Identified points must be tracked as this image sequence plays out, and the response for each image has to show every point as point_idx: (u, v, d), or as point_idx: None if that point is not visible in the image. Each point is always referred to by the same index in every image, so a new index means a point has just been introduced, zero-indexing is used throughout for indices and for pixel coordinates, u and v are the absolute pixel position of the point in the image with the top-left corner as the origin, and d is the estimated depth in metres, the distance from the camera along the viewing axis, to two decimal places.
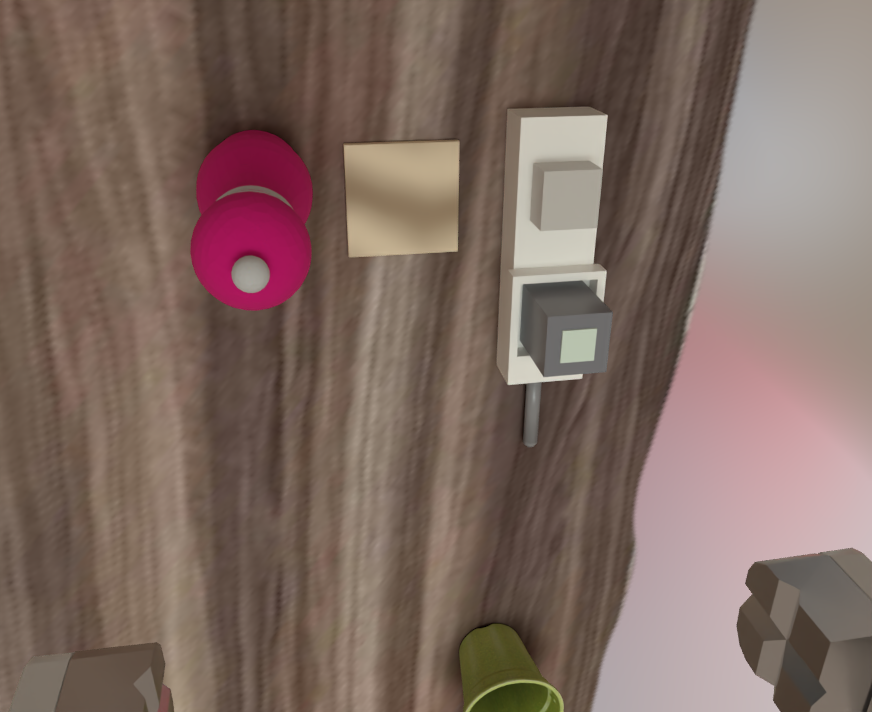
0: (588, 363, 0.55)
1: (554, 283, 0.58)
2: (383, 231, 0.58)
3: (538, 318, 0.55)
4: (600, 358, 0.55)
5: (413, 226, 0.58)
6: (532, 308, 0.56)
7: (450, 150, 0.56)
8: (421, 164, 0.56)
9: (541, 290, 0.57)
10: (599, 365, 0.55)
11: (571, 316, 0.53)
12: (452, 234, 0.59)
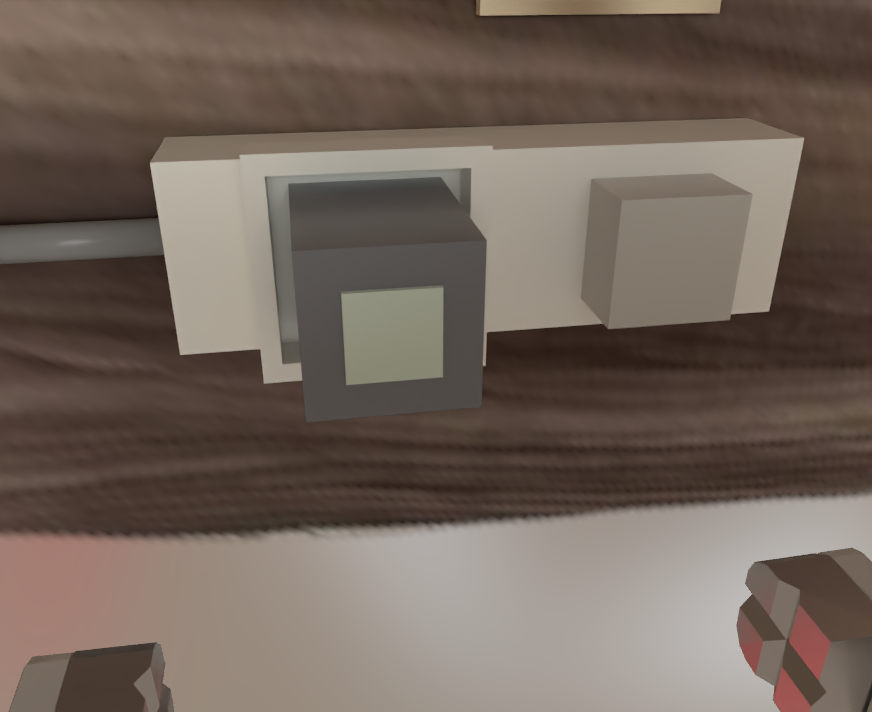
0: (334, 372, 0.20)
1: None
2: None
3: (432, 217, 0.20)
4: (348, 400, 0.20)
5: None
6: (426, 201, 0.22)
7: None
8: None
9: None
10: (326, 402, 0.20)
11: (480, 303, 0.19)
12: (521, 1, 0.25)
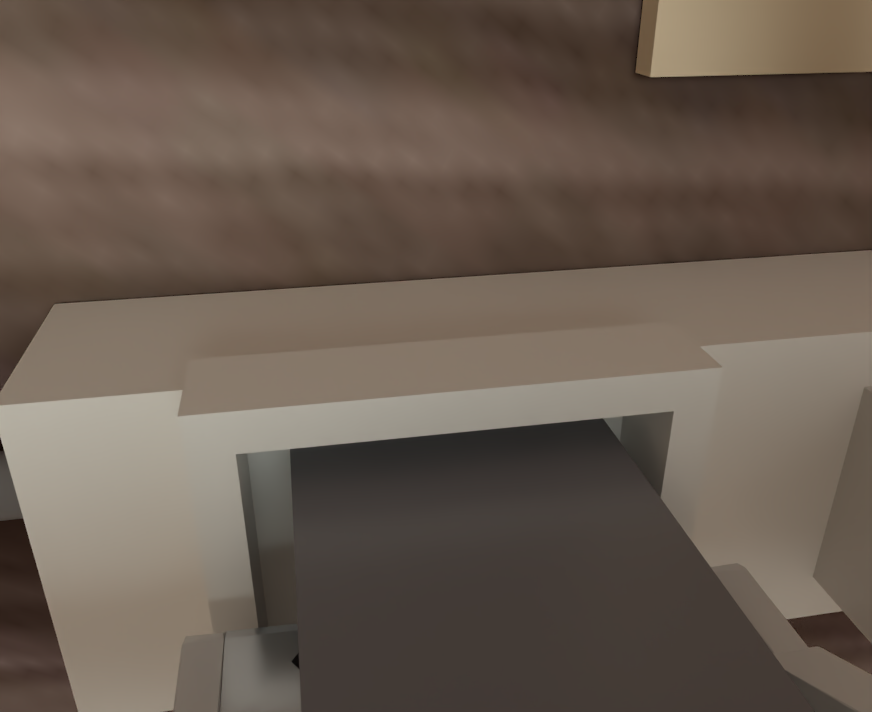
0: None
1: None
2: None
3: (638, 592, 0.08)
4: None
5: None
6: (595, 506, 0.10)
7: None
8: None
9: None
10: None
11: None
12: (728, 49, 0.13)
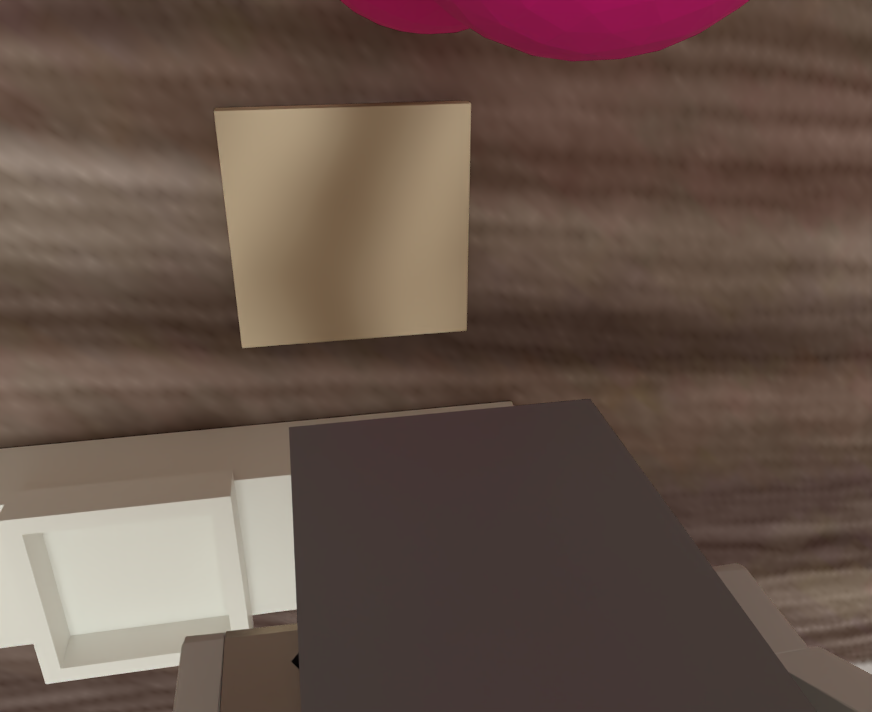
0: None
1: None
2: (282, 191, 0.26)
3: (639, 592, 0.08)
4: None
5: (294, 255, 0.27)
6: (596, 505, 0.10)
7: (450, 316, 0.29)
8: (425, 263, 0.28)
9: None
10: None
11: None
12: (279, 334, 0.28)
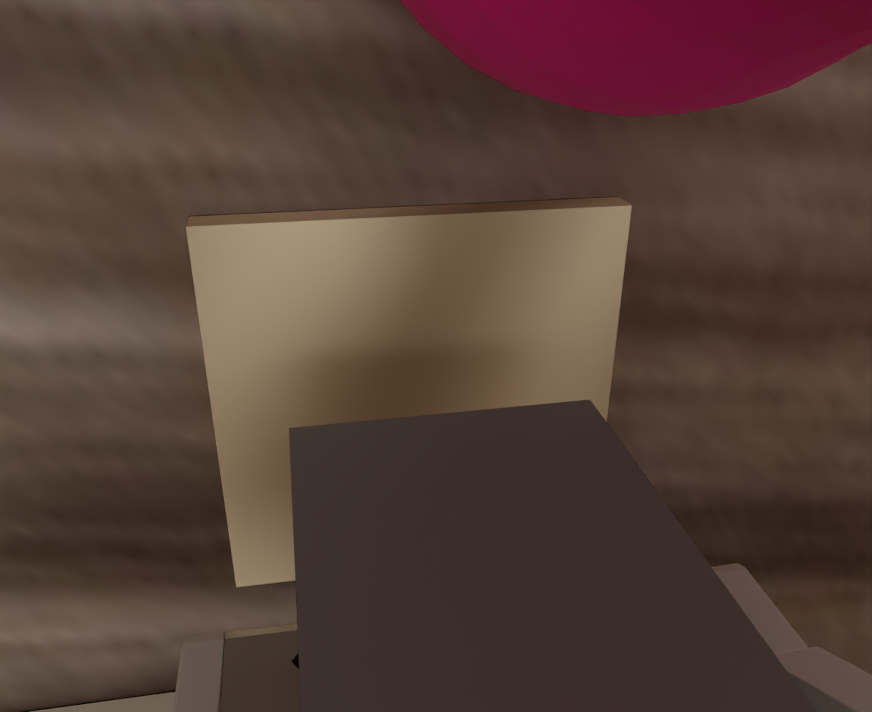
0: None
1: None
2: (305, 353, 0.15)
3: (639, 593, 0.08)
4: None
5: None
6: (595, 506, 0.10)
7: None
8: None
9: None
10: None
11: None
12: None
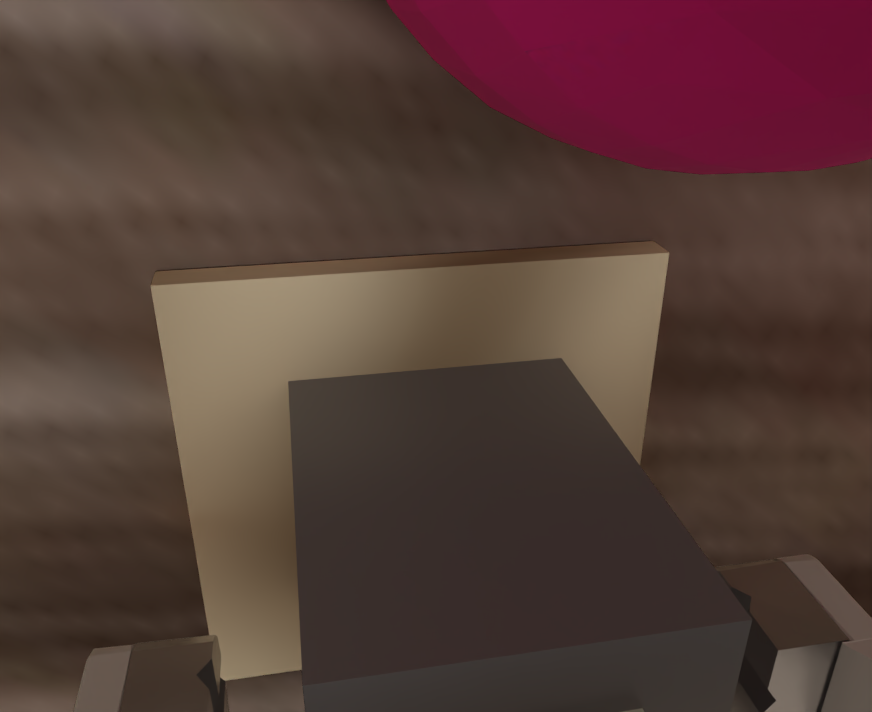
0: None
1: None
2: None
3: (593, 511, 0.10)
4: None
5: None
6: (561, 444, 0.11)
7: None
8: None
9: None
10: None
11: None
12: (286, 656, 0.15)
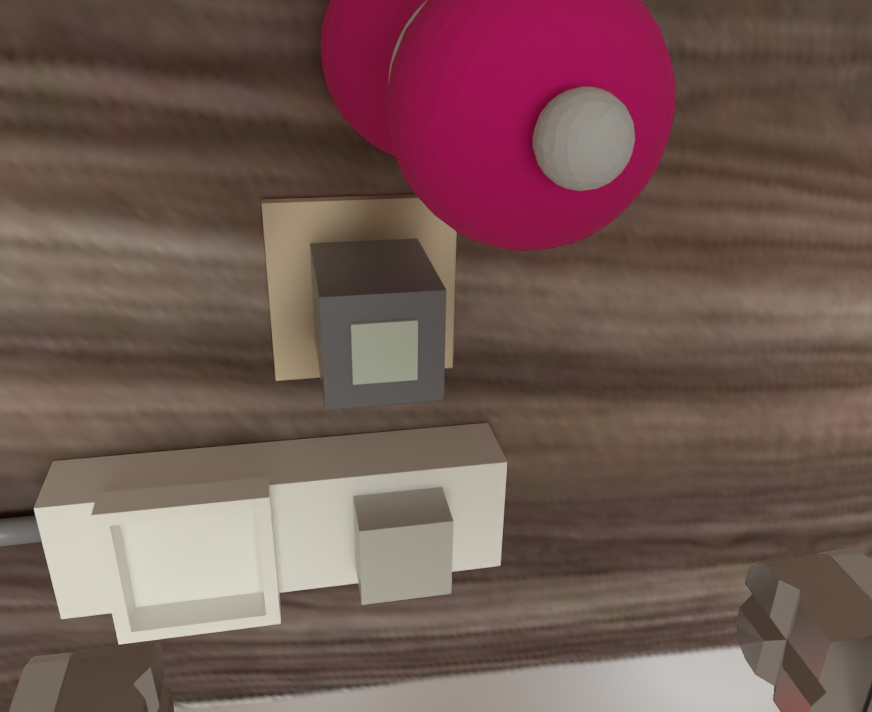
0: (344, 376, 0.29)
1: None
2: None
3: (411, 272, 0.30)
4: (354, 395, 0.30)
5: None
6: (407, 259, 0.32)
7: None
8: None
9: None
10: (339, 396, 0.30)
11: (443, 331, 0.29)
12: (305, 370, 0.36)
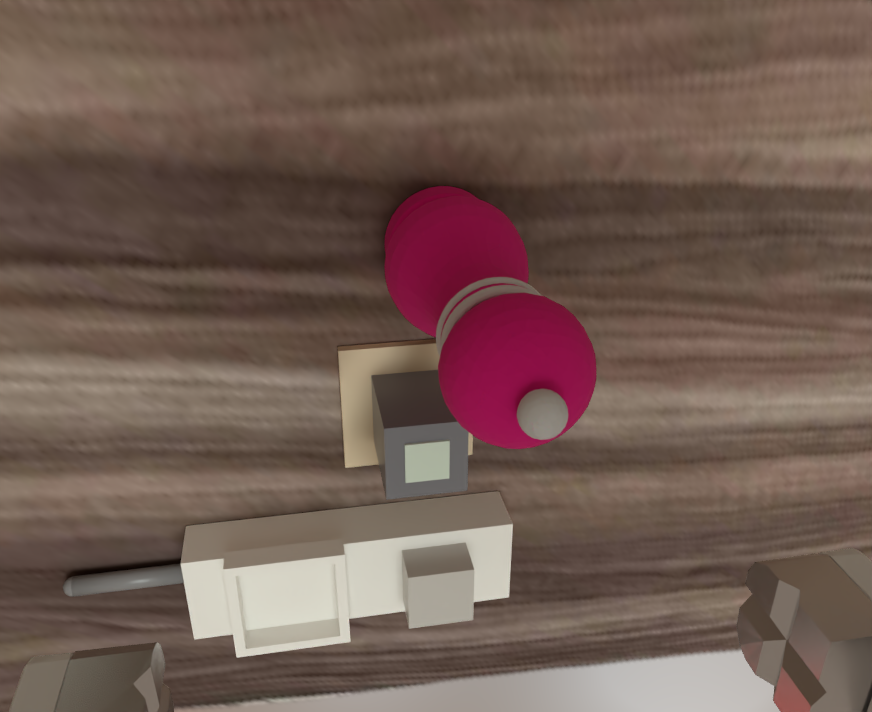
0: (400, 477, 0.43)
1: None
2: (371, 387, 0.47)
3: (444, 403, 0.44)
4: (406, 489, 0.44)
5: None
6: (440, 390, 0.45)
7: None
8: None
9: None
10: (395, 490, 0.43)
11: (466, 446, 0.43)
12: (366, 460, 0.49)
